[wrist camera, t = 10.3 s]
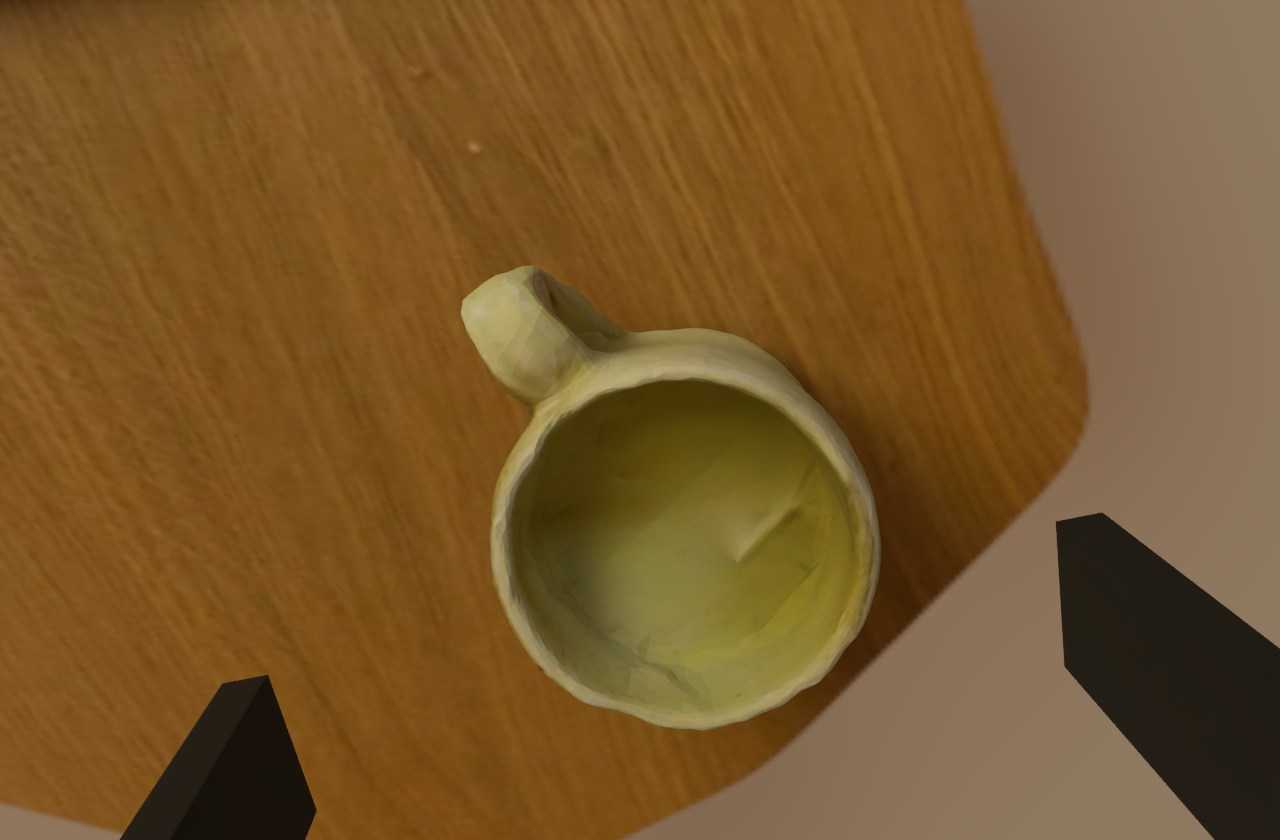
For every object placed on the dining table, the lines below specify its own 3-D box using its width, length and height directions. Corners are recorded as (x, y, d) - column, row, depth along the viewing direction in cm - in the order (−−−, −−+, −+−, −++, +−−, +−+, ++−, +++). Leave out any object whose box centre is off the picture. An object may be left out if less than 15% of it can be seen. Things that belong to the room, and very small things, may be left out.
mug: (947, 542, 29) (934, 718, 20) (655, 626, 33) (532, 804, 24) (791, 163, 27) (699, 163, 18) (508, 299, 31) (317, 355, 22)
